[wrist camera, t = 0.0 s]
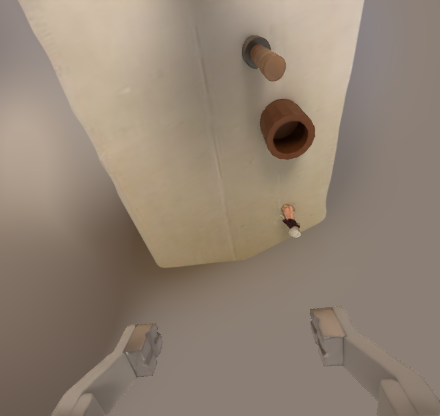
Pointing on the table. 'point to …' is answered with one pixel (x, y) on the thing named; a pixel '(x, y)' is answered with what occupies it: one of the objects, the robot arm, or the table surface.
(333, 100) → the table surface
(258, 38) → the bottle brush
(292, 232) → the grandmother figurine
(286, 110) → the cylindrical container
